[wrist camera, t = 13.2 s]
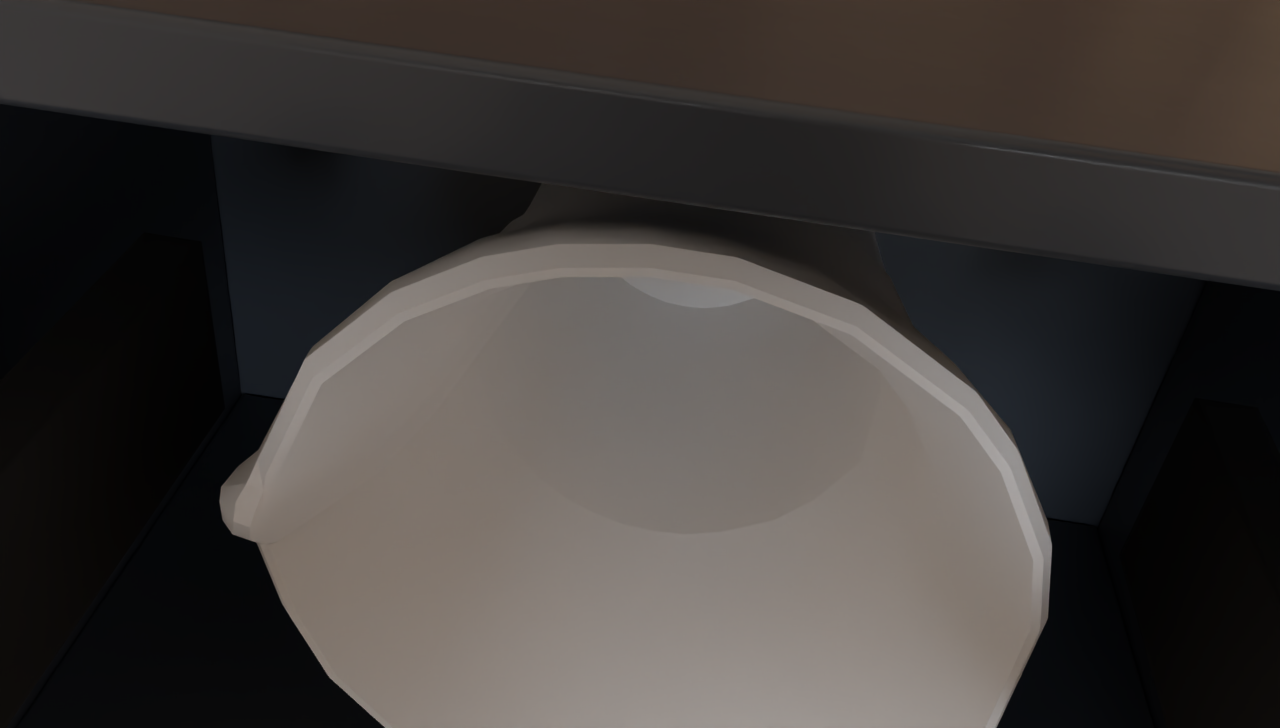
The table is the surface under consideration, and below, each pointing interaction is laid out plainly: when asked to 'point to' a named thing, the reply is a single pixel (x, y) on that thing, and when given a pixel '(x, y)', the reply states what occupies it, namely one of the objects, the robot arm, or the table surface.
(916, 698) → the cup
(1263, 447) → the robot arm
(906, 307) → the dark grey storage bin
